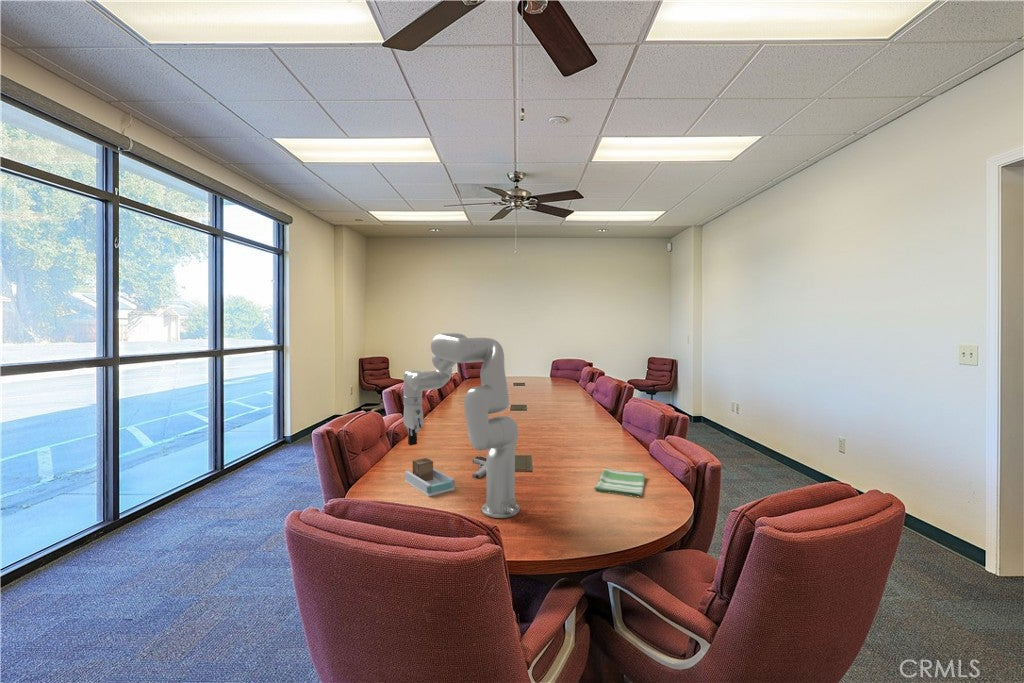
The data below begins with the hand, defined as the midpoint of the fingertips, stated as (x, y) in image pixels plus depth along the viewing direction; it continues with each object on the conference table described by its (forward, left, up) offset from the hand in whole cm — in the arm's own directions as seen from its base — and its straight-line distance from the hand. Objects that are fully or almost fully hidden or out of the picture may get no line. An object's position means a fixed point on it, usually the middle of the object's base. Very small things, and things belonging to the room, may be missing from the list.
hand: (412, 444), depth 182 cm
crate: (-9, 0, -12) cm, 15 cm away
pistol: (-9, -27, -14) cm, 32 cm away
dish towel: (-59, -61, -14) cm, 86 cm away
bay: (-15, 0, -13) cm, 20 cm away
